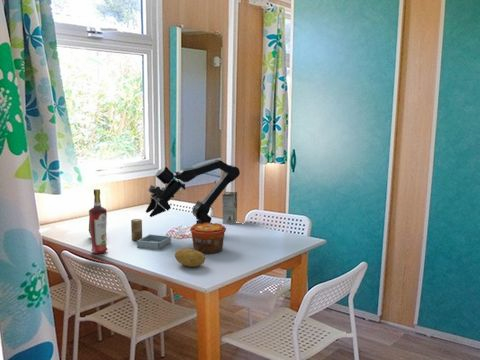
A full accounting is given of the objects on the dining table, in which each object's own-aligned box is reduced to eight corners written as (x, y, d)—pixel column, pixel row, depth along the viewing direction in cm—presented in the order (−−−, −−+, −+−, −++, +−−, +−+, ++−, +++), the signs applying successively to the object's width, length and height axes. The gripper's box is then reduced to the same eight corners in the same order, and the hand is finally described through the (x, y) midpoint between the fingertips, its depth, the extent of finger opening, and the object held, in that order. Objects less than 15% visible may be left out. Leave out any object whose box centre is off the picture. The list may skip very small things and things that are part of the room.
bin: (170, 242, 228) (170, 236, 228) (159, 249, 218) (159, 243, 217) (149, 240, 232) (149, 234, 231) (137, 247, 221) (137, 240, 221)
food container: (212, 257, 207) (212, 233, 206) (182, 251, 216) (182, 227, 214) (232, 248, 221) (233, 225, 219) (204, 242, 229) (204, 220, 227)
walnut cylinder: (144, 238, 235) (143, 219, 233) (138, 241, 230) (138, 221, 228) (135, 237, 236) (134, 218, 235) (129, 240, 232) (129, 221, 230)
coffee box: (226, 219, 273) (226, 191, 270) (237, 220, 271) (237, 191, 269) (222, 223, 264) (222, 194, 261) (233, 224, 262) (233, 195, 260)
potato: (192, 272, 190) (192, 255, 189) (170, 265, 198) (169, 248, 197) (208, 266, 197) (208, 249, 196) (186, 259, 205) (186, 243, 204)
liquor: (101, 248, 218) (99, 187, 214) (111, 252, 214) (109, 189, 209) (87, 252, 213) (84, 189, 208) (97, 256, 208) (94, 191, 204)
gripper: (154, 176, 241) (132, 199, 239) (163, 182, 224) (139, 207, 222) (170, 191, 245) (148, 214, 243) (180, 198, 228) (157, 223, 226)
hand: (148, 214), depth 233 cm, fingers open, 9 cm apart
